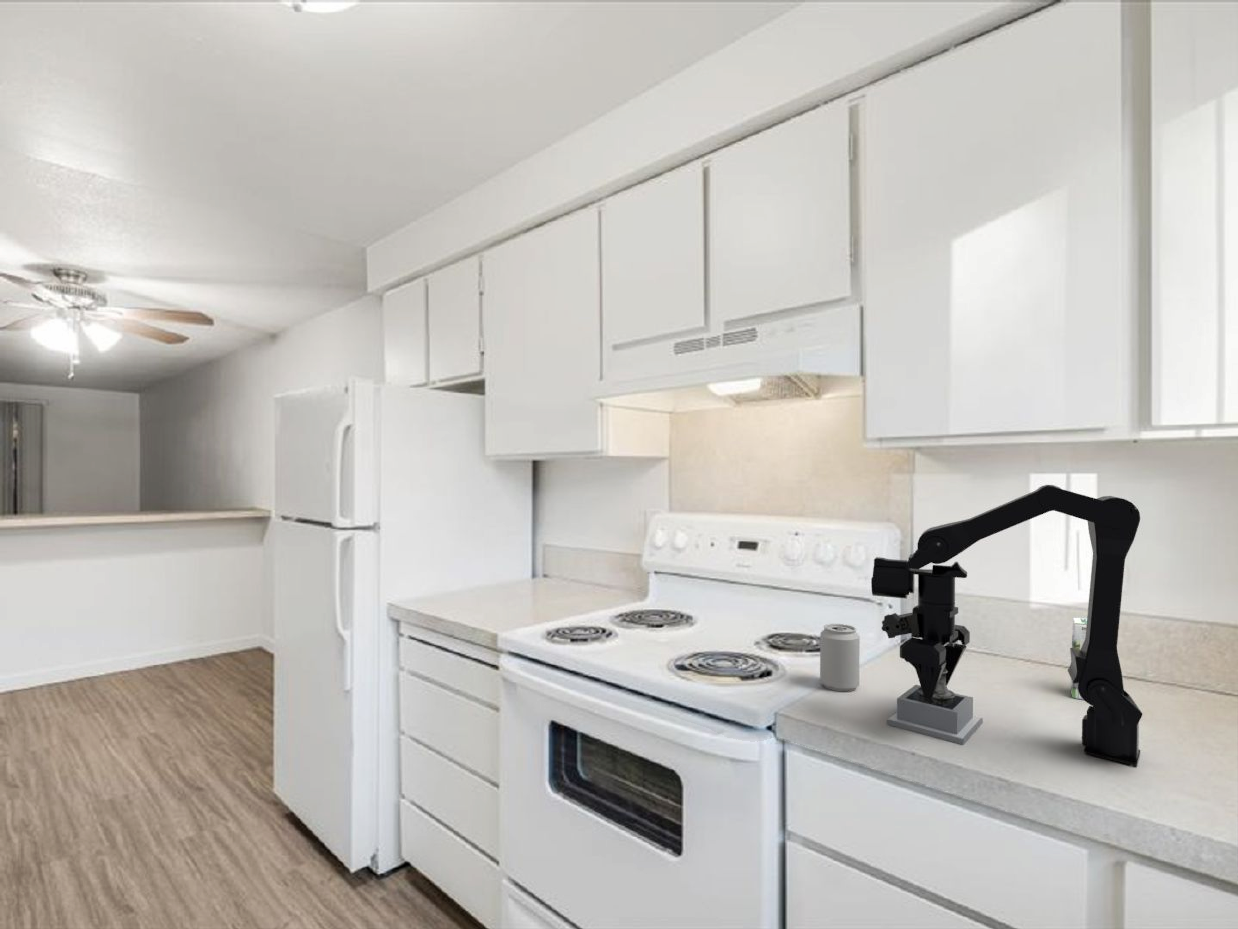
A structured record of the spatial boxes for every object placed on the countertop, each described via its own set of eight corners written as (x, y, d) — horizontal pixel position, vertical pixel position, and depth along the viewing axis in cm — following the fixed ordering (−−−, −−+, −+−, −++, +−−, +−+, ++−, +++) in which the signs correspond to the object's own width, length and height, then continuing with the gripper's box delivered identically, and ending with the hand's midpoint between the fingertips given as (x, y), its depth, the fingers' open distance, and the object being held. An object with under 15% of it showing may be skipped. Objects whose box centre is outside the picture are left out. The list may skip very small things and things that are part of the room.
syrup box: (1070, 689, 131) (1070, 616, 131) (1106, 695, 128) (1107, 620, 128) (1072, 698, 126) (1073, 622, 126) (1110, 704, 123) (1111, 626, 123)
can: (855, 681, 136) (856, 622, 136) (862, 694, 128) (863, 632, 128) (817, 679, 137) (818, 621, 137) (822, 691, 130) (822, 630, 129)
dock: (982, 722, 115) (982, 697, 114) (963, 744, 106) (963, 717, 106) (910, 705, 123) (910, 681, 122) (886, 724, 114) (887, 698, 114)
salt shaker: (961, 720, 111) (961, 648, 111) (924, 718, 111) (925, 647, 111) (946, 707, 117) (946, 638, 117) (912, 706, 117) (912, 638, 117)
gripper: (906, 587, 126) (906, 669, 126) (868, 603, 112) (868, 695, 112) (970, 595, 119) (970, 682, 119) (938, 613, 105) (938, 712, 105)
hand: (935, 692), depth 114 cm, fingers closed on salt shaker, 8 cm apart
